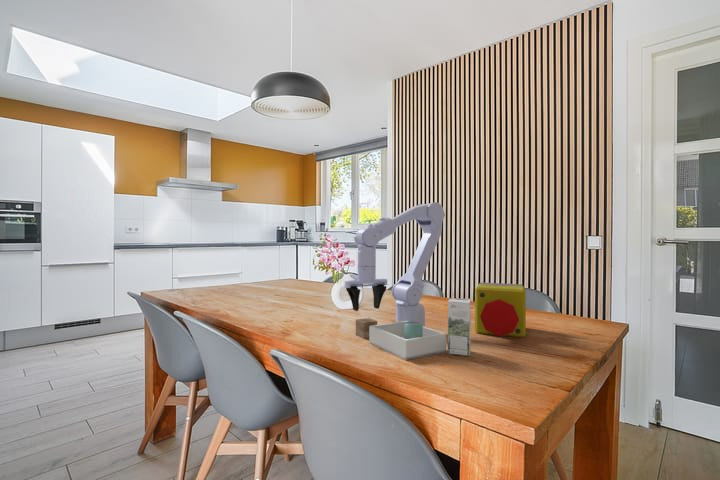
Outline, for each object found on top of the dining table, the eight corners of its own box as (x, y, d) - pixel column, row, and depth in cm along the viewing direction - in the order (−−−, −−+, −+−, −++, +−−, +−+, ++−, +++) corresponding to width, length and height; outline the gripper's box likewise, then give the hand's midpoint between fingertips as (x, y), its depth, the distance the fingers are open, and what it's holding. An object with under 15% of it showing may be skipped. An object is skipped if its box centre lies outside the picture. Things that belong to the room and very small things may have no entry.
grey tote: (406, 336, 115) (406, 320, 115) (446, 352, 100) (446, 333, 99) (369, 342, 108) (369, 325, 108) (405, 360, 93) (405, 340, 93)
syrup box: (470, 350, 101) (471, 298, 101) (469, 357, 95) (470, 301, 95) (449, 348, 103) (449, 296, 103) (447, 355, 97) (447, 300, 97)
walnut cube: (369, 333, 119) (369, 317, 119) (377, 337, 115) (377, 321, 115) (355, 335, 117) (355, 319, 117) (363, 339, 112) (363, 322, 112)
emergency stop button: (472, 340, 111) (472, 291, 110) (478, 323, 133) (478, 282, 133) (526, 346, 105) (527, 294, 105) (523, 327, 127) (523, 284, 127)
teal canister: (417, 345, 103) (417, 320, 103) (426, 351, 98) (426, 325, 98) (400, 347, 101) (401, 322, 101) (409, 352, 97) (409, 326, 97)
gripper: (379, 264, 123) (378, 305, 123) (340, 266, 116) (340, 309, 116) (391, 266, 117) (390, 308, 117) (351, 267, 109) (350, 313, 109)
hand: (366, 309), depth 116 cm, fingers open, 7 cm apart
